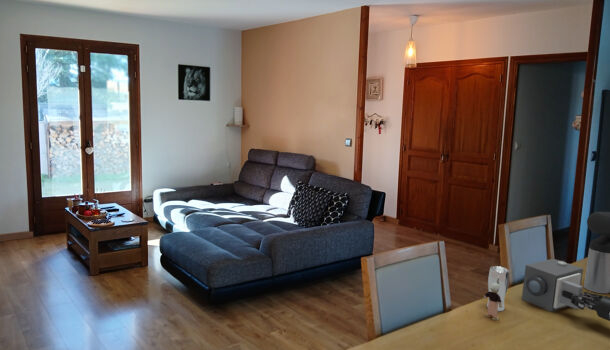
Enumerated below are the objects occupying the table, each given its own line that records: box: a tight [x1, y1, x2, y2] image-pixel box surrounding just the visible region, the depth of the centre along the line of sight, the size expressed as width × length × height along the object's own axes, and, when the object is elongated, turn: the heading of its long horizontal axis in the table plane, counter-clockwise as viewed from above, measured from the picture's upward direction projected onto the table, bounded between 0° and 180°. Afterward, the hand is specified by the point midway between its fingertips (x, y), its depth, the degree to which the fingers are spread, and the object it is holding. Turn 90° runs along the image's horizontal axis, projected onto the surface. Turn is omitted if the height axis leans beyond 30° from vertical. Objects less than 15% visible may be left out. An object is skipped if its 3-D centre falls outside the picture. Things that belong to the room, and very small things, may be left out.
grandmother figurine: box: [483, 283, 502, 321], centre depth 160 cm, size 8×4×13 cm, turn 37°
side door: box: [554, 273, 584, 310], centre depth 165 cm, size 14×7×11 cm, turn 121°
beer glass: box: [486, 265, 510, 312], centre depth 167 cm, size 7×7×15 cm
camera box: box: [521, 258, 584, 313], centre depth 174 cm, size 21×12×15 cm, turn 121°
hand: (565, 292), depth 165 cm, fingers closed on side door, 2 cm apart
